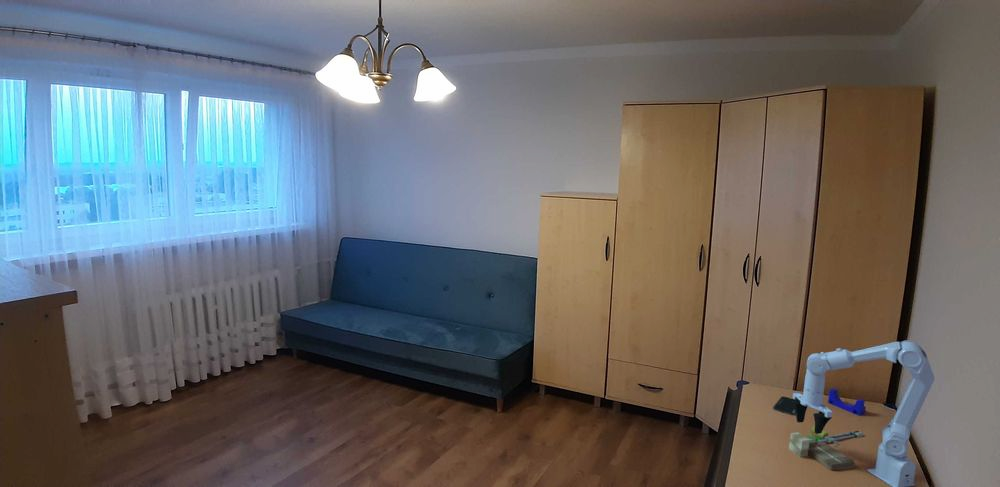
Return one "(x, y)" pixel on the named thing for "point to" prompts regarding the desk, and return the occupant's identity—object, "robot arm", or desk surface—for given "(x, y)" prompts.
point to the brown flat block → (829, 456)
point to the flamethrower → (825, 436)
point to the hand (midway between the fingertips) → (808, 427)
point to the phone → (785, 405)
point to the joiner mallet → (800, 444)
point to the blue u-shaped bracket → (854, 409)
